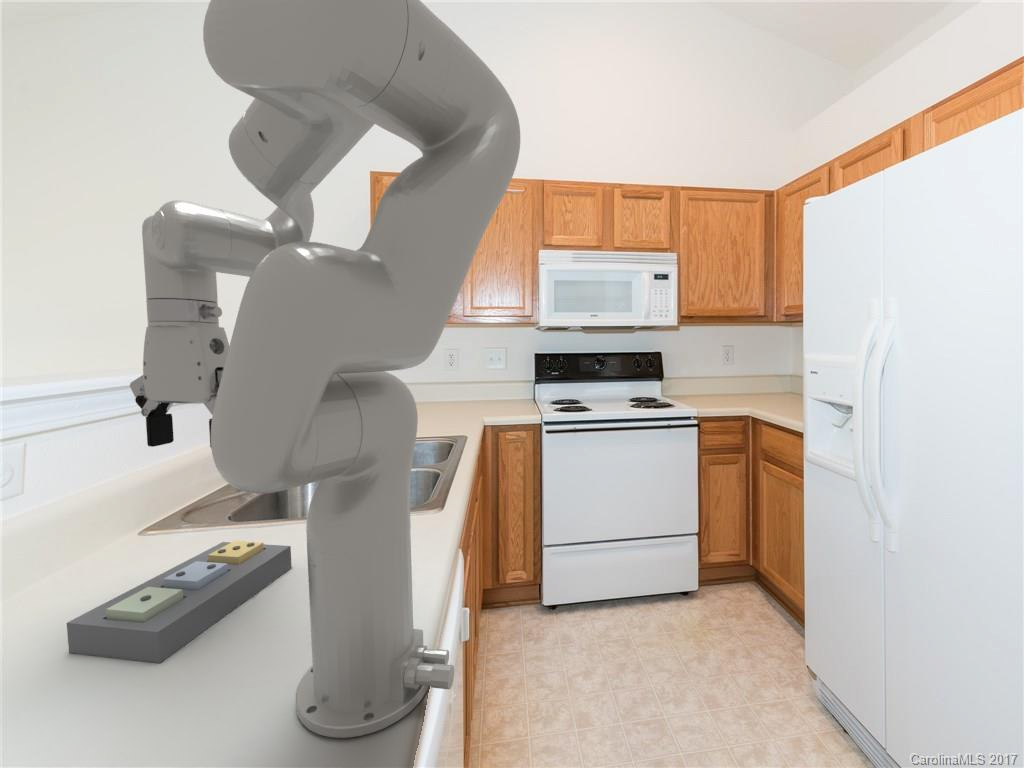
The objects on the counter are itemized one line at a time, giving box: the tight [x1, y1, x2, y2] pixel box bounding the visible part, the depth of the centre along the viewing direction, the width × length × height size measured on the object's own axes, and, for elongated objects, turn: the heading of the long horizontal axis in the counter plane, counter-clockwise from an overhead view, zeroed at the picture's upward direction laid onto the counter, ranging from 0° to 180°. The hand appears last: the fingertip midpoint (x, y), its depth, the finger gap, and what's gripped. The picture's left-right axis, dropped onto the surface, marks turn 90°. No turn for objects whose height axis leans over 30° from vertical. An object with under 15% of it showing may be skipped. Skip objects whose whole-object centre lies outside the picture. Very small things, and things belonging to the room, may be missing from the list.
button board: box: [66, 541, 293, 664], centre depth 60 cm, size 12×22×4 cm, turn 170°
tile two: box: [163, 561, 228, 590], centre depth 60 cm, size 5×5×2 cm
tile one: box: [106, 587, 183, 623], centre depth 53 cm, size 5×5×2 cm
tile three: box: [208, 540, 264, 565], centre depth 67 cm, size 5×5×2 cm
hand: (191, 445), depth 60 cm, fingers open, 9 cm apart
